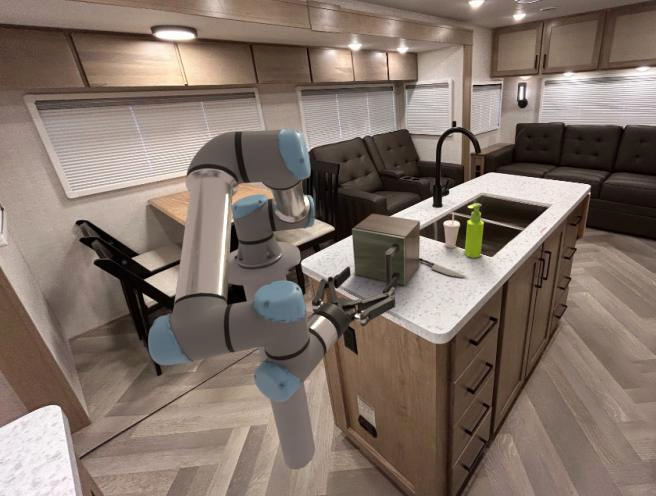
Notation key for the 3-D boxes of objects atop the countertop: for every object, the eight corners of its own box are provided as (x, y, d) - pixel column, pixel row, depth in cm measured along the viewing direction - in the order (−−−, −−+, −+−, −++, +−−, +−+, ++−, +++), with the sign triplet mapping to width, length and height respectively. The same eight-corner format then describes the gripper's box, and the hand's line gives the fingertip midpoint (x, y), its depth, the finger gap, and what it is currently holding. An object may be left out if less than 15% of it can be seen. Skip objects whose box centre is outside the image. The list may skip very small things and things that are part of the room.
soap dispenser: (459, 253, 121) (463, 204, 113) (472, 248, 125) (476, 200, 117) (471, 260, 117) (475, 208, 109) (483, 254, 120) (489, 204, 113)
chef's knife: (462, 281, 104) (466, 277, 106) (462, 279, 103) (466, 274, 105) (414, 263, 115) (419, 259, 117) (414, 260, 114) (419, 256, 116)
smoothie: (449, 250, 123) (451, 217, 118) (439, 244, 128) (440, 211, 123) (461, 246, 126) (464, 213, 121) (451, 240, 131) (453, 208, 126)
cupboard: (405, 284, 103) (405, 236, 96) (356, 272, 109) (353, 227, 103) (419, 264, 114) (420, 220, 107) (374, 255, 120) (372, 213, 114)
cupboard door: (395, 298, 96) (394, 248, 89) (344, 284, 102) (339, 238, 96) (405, 284, 103) (405, 237, 96) (356, 272, 109) (353, 228, 103)
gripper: (278, 327, 72) (332, 278, 90) (378, 360, 62) (416, 299, 81) (273, 299, 69) (330, 255, 87) (377, 330, 60) (416, 273, 78)
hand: (371, 276), depth 84 cm, fingers open, 13 cm apart
